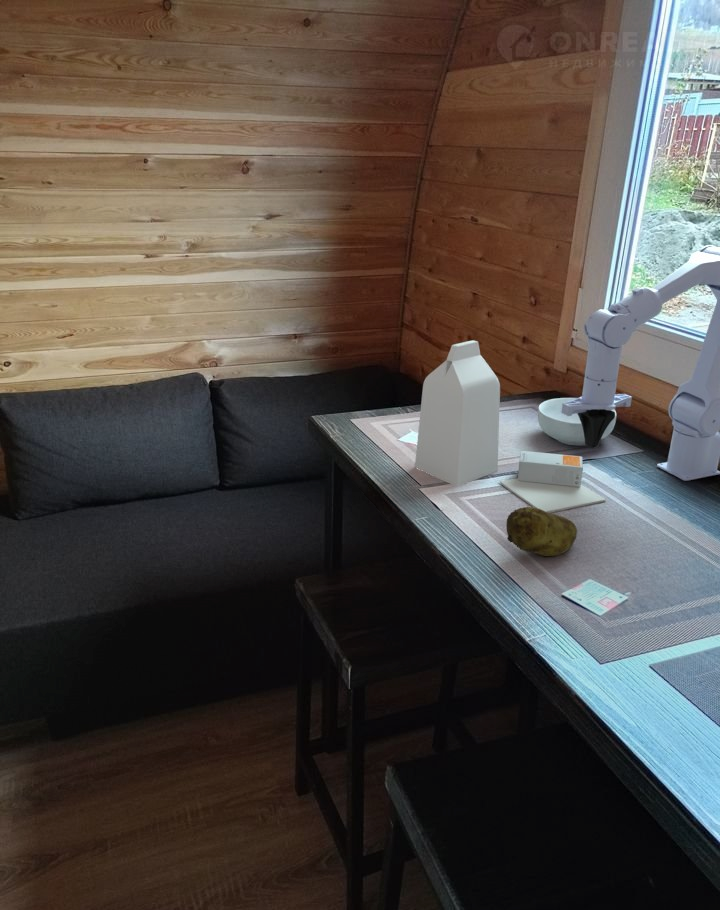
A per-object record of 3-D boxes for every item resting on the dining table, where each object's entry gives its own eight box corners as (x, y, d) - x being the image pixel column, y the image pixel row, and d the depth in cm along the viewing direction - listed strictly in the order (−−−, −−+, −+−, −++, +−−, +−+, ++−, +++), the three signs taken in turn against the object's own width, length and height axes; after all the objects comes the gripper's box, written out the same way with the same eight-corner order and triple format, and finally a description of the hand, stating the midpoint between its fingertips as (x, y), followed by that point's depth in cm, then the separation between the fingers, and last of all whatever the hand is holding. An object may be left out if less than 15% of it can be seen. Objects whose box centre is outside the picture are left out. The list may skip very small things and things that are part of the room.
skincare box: (583, 467, 146) (519, 461, 148) (581, 487, 148) (517, 481, 150) (582, 455, 151) (520, 450, 154) (579, 475, 153) (518, 469, 155)
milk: (457, 486, 148) (466, 355, 138) (414, 467, 156) (421, 342, 146) (497, 470, 155) (509, 344, 145) (454, 453, 163) (463, 332, 153)
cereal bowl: (553, 420, 183) (556, 392, 180) (622, 436, 174) (627, 407, 172) (522, 441, 170) (525, 411, 168) (595, 460, 162) (600, 428, 159)
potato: (588, 562, 123) (595, 517, 120) (511, 567, 121) (515, 522, 118) (568, 537, 130) (574, 494, 127) (494, 541, 129) (499, 498, 126)
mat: (558, 472, 155) (559, 470, 155) (605, 501, 143) (605, 499, 143) (499, 483, 150) (499, 481, 150) (543, 514, 138) (543, 512, 138)
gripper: (583, 387, 135) (573, 459, 140) (647, 378, 140) (636, 447, 146) (558, 376, 141) (549, 445, 146) (620, 368, 146) (610, 435, 152)
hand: (591, 445), depth 146 cm, fingers closed
